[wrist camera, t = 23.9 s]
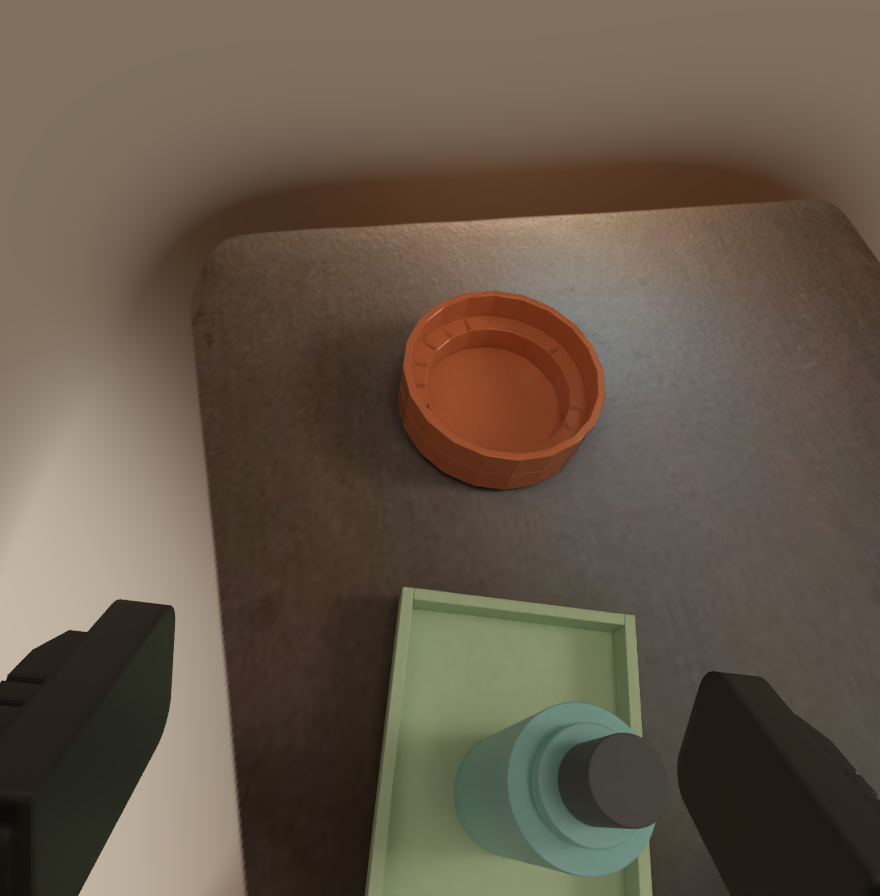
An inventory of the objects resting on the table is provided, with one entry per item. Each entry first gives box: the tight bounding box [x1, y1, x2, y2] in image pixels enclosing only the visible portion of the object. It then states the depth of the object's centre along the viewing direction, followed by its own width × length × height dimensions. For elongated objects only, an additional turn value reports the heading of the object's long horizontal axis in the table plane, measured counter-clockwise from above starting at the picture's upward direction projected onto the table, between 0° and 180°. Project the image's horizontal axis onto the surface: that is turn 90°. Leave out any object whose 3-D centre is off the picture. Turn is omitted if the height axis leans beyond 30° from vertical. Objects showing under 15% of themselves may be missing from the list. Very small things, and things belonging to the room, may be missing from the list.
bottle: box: [454, 702, 671, 877], centre depth 29 cm, size 6×6×18 cm
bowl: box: [398, 291, 605, 490], centre depth 47 cm, size 14×14×5 cm
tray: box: [365, 587, 652, 896], centre depth 36 cm, size 14×20×3 cm
